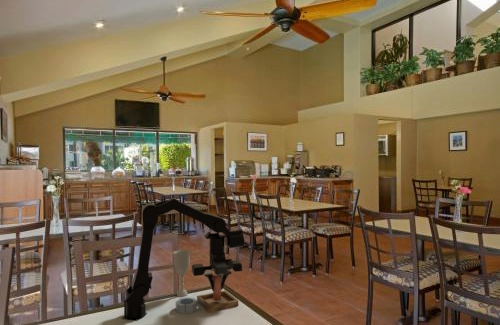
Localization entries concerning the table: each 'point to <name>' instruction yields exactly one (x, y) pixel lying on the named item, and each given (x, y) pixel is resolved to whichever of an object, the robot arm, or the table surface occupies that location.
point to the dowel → (217, 287)
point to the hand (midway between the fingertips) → (217, 290)
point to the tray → (213, 305)
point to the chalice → (182, 267)
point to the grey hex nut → (186, 305)
